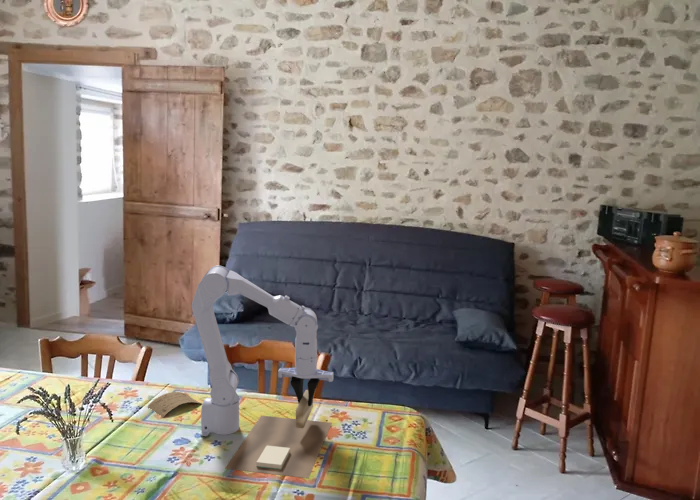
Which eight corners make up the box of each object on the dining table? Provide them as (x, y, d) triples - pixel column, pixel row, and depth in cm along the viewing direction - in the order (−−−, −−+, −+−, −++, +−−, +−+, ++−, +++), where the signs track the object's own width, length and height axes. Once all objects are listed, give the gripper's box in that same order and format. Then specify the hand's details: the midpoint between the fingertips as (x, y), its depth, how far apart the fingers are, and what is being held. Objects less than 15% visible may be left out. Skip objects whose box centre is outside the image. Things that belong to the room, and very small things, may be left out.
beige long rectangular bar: (296, 427, 157) (295, 410, 156) (305, 406, 168) (305, 389, 166) (303, 428, 157) (303, 410, 156) (313, 406, 167) (312, 390, 166)
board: (224, 472, 142) (224, 468, 142) (261, 418, 170) (261, 415, 169) (308, 482, 139) (308, 478, 139) (331, 426, 166) (331, 422, 166)
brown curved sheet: (161, 420, 168) (161, 411, 168) (142, 409, 175) (142, 400, 175) (205, 405, 179) (205, 396, 178) (186, 394, 186) (186, 386, 185)
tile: (266, 449, 151) (256, 466, 143) (266, 445, 151) (256, 462, 143) (290, 452, 150) (281, 469, 142) (290, 447, 150) (281, 464, 142)
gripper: (335, 352, 163) (335, 400, 165) (283, 348, 165) (283, 395, 167) (330, 361, 156) (330, 411, 158) (275, 357, 158) (275, 406, 160)
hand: (305, 404), depth 162 cm, fingers closed on beige long rectangular bar, 2 cm apart
